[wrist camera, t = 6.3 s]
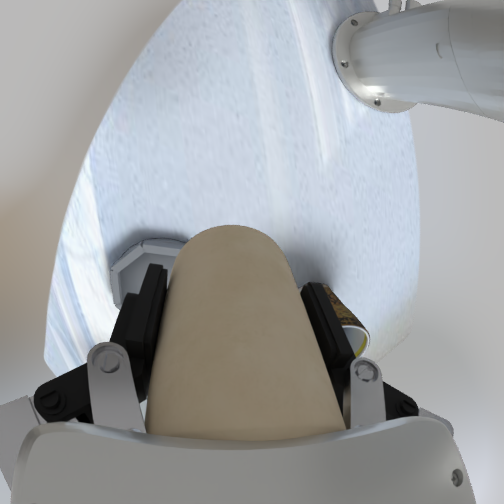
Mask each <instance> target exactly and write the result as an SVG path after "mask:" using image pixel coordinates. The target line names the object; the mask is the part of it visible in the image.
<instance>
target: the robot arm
mask: <svg viewBox="0 0 504 504" xmlns="http://www.w3.org/2000/svg"><path fill="white" fill-rule="evenodd" d="M401 4H402V2H401V0H389V10H387V11H385V12H382V13H378V12H369V11H366V12H360V13H357V14H354V15H352V16H350V17H349V18H347V19H346V20H344V21H343V22H342V23H341V24H340V26H339V27H338V29H337V31H336V33H335V35H334V39H333V45H332V54H333V59H334V64H335V67H336V70H337V73H338V75H339V77H340V78H341V80H342V82H343V84H344V85H345V86H346V88H347V89H348V90H349V92H350V93H351V94H352V95H353V96H354V97H355V98H356V99H357V100H359V101H360V102H362V103H363V104H364V105H366V106H368V107H370V108H372V109H374V110H378V111H381V112H387V113H400V112H404V111H407V110H409V109H410V108H412V107H414V106H415V105H416V104H417V103H421V104H428V105H434V106H440V107H445V108H450V109H455V110H459V111H464V112H468V113H472V114H476V115H480V116H484V117H487V118H491V119H494V120H497V121H500V122H503V123H504V0H444V1H439V2H436V3H431V4H427V5H423V6H422V5H421V4H420V3H419V2H417V1H414V0H407V1H406V7H405V11H402V12H400V10H401ZM351 23H352V24H351ZM341 63H343V66H342V65H341ZM374 101H375V104H374ZM167 277H168V269H163V265H161V264H153V263H149V266H148V269H147V271H146V274H145V277H144V280H143V283H142V286H141V289H140V292H139V294H136V293H130V292H128V293H127V294H126V296H125V298H124V301H123V304H122V307H121V309H120V312H119V315H118V318H117V321H116V323H115V326H114V329H113V332H112V335H111V338H110V341H109V342H103V343H99V344H97V345H95V346H94V347H93V348H92V349H91V350H90V351H89V353H88V357H87V363H85V364H83V365H81V366H79V367H77V368H75V369H73V370H71V371H69V372H67V373H65V374H63V375H61V376H59V377H57V378H55V379H53V380H50V381H49V382H46V383H44V384H42V385H41V386H40V387H38V389H37V390H36V392H35V394H34V396H32V397H28V396H27V395H26V396H24V397H21V398H19V399H16V400H14V401H11V402H9V403H6V404H3V405H1V406H0V468H1V471H2V473H3V475H4V478H5V480H6V482H7V484H8V486H9V488H10V490H11V504H476V501H475V497H474V493H473V490H472V486H471V483H470V480H469V476H468V473H467V470H466V468H465V464H464V462H463V459H462V457H461V454H460V452H459V450H458V447H457V445H456V443H455V441H454V439H453V434H454V432H453V427H452V425H451V423H450V422H449V421H447V420H446V419H444V418H441V417H439V416H437V415H435V414H433V413H431V412H429V411H427V410H425V409H423V408H419V409H418V406H417V404H416V402H415V401H414V400H413V399H412V398H410V397H408V396H407V395H405V394H404V393H402V392H400V391H399V390H397V389H395V388H394V387H391V386H390V385H388V384H387V383H385V382H383V381H382V374H381V370H380V368H379V367H378V365H377V364H376V363H375V362H373V361H372V360H370V359H367V358H362V357H360V358H356V356H355V354H354V352H353V349H352V347H351V345H350V343H349V340H348V338H347V336H346V334H345V332H344V329H343V327H342V325H341V323H340V321H339V319H338V316H337V314H336V312H335V310H334V308H333V306H332V304H331V302H330V300H329V297H328V295H327V293H326V291H325V289H324V287H323V285H322V284H321V283H313V282H309V283H307V285H304V286H303V287H302V290H301V292H300V295H301V298H302V301H303V304H304V306H305V309H306V312H307V315H308V317H309V320H310V323H311V326H312V329H313V331H314V334H315V337H316V340H317V343H318V346H319V348H320V351H321V354H322V357H323V360H324V363H325V366H326V369H327V372H328V375H329V378H330V381H331V384H332V387H333V390H334V393H335V396H336V399H337V402H338V405H339V408H340V411H341V414H342V417H343V421H344V424H345V427H346V430H343V431H337V432H331V433H325V434H318V435H311V436H304V437H298V438H291V439H283V440H269V441H242V440H207V439H191V438H180V437H170V436H162V435H154V434H147V432H146V429H145V425H144V423H145V422H144V419H143V415H142V411H141V407H140V403H141V402H143V401H145V400H146V399H147V396H148V391H149V384H150V377H151V371H152V365H153V359H154V353H155V347H156V342H157V336H158V331H159V326H160V321H161V316H162V311H163V307H164V302H165V297H166V293H167Z"/></svg>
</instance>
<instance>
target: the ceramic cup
mask: <svg viewBox="0 0 504 504" xmlns="http://www.w3.org/2000/svg"><path fill="white" fill-rule="evenodd" d="M305 285H307V284H305ZM322 285H323V287H324V289H325V291H326V293H327V295H328V297H329V300H330V302H331V304H332V306H333V308H334V310H335V312H336V314H337V316H338V319H339V321H340V323H341V325H342V327H343V329H344V332H345V334H346V336H347V338H348V340H349V343H350V345H351V347H352V349H353V352H354V354H355V356H356V358H360V357H362V356H363V354H364V353H365V352H366V350H367V348H368V346H369V343H370V335H369V333H368V331H367V330H366V328H365V327H364V326H363V325H362V323H361V322H360V321H359V320H358V319H357V317H356V316H355V315H354V314H353V313H352V312H351V311H350V310H349V309H348V308H347V307H345V305H344V304H343V303H342V302H341V301H340V300H339V298H338V297H337V296H336V295H335V294H334V293H333V292H332V290H331V289H330V288H329V287H328V286H327V285H325V284H322ZM302 287H303V286H302ZM302 287H300V288H299V289H298V290H299V293H300V292H301V290H302Z"/></svg>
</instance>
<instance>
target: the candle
mask: <svg viewBox="0 0 504 504" xmlns="http://www.w3.org/2000/svg"><path fill="white" fill-rule="evenodd" d="M144 425H145V429H146V432H147V434H154V435H162V436H170V437H180V438H191V439H207V440H242V441H269V440H283V439H291V438H298V437H304V436H311V435H318V434H325V433H331V432H337V431H343V430H346V427H345V424H344V421H343V417H342V414H341V411H340V408H339V405H338V402H337V399H336V396H335V393H334V390H333V387H332V384H331V381H330V378H329V375H328V372H327V369H326V366H325V363H324V360H323V357H322V354H321V351H320V348H319V346H318V343H317V340H316V337H315V334H314V331H313V329H312V326H311V323H310V320H309V317H308V315H307V312H306V309H305V306H304V304H303V301H302V298H301V295H300V293H299V290H298V287H297V285H296V282H295V279H294V277H293V274H292V271H291V269H290V266H289V264H288V261H287V259H286V257H285V255H284V253H283V251H282V250H281V249H280V248H279V246H278V245H277V244H276V243H275V242H274V241H273V240H272V239H271V238H270V237H269V236H267V235H266V234H264V233H262V232H260V231H258V230H256V229H253V228H250V227H246V226H240V225H223V226H217V227H213V228H210V229H207V230H205V231H202V232H200V233H199V234H197V235H195V236H194V237H193V238H191V239H190V240H189V241H188V242H187V243H186V244H185V245H184V246H183V248H182V249H181V250H180V252H179V254H178V255H177V257H176V259H175V262H174V265H173V268H172V272H171V275H170V280H169V284H168V288H167V293H166V297H165V302H164V307H163V311H162V316H161V321H160V326H159V331H158V336H157V342H156V347H155V353H154V359H153V365H152V371H151V377H150V384H149V391H148V398H147V406H146V414H145V423H144Z"/></svg>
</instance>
